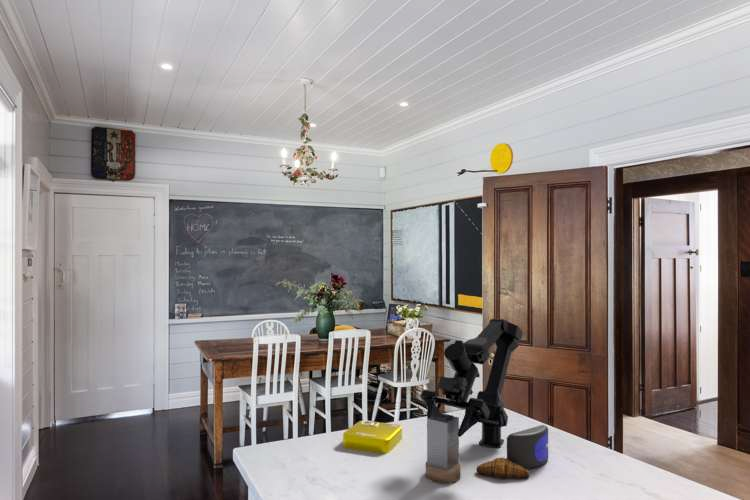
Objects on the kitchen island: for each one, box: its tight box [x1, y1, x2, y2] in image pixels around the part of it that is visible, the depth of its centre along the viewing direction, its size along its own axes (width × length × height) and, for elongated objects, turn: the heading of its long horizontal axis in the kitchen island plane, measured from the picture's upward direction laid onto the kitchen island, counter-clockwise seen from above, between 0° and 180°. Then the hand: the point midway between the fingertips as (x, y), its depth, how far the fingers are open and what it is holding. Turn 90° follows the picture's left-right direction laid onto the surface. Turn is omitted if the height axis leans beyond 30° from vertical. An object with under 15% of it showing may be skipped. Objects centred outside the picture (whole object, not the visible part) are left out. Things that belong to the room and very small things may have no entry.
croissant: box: [475, 457, 530, 480], centre depth 132 cm, size 14×7×5 cm, turn 79°
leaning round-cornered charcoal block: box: [506, 424, 549, 470], centre depth 139 cm, size 16×5×9 cm, turn 124°
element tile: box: [342, 419, 403, 454], centre depth 156 cm, size 15×15×5 cm
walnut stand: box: [425, 461, 462, 485], centre depth 132 cm, size 9×9×3 cm
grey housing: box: [426, 412, 460, 471], centre depth 132 cm, size 6×6×12 cm
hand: (443, 432), depth 132 cm, fingers open, 9 cm apart
